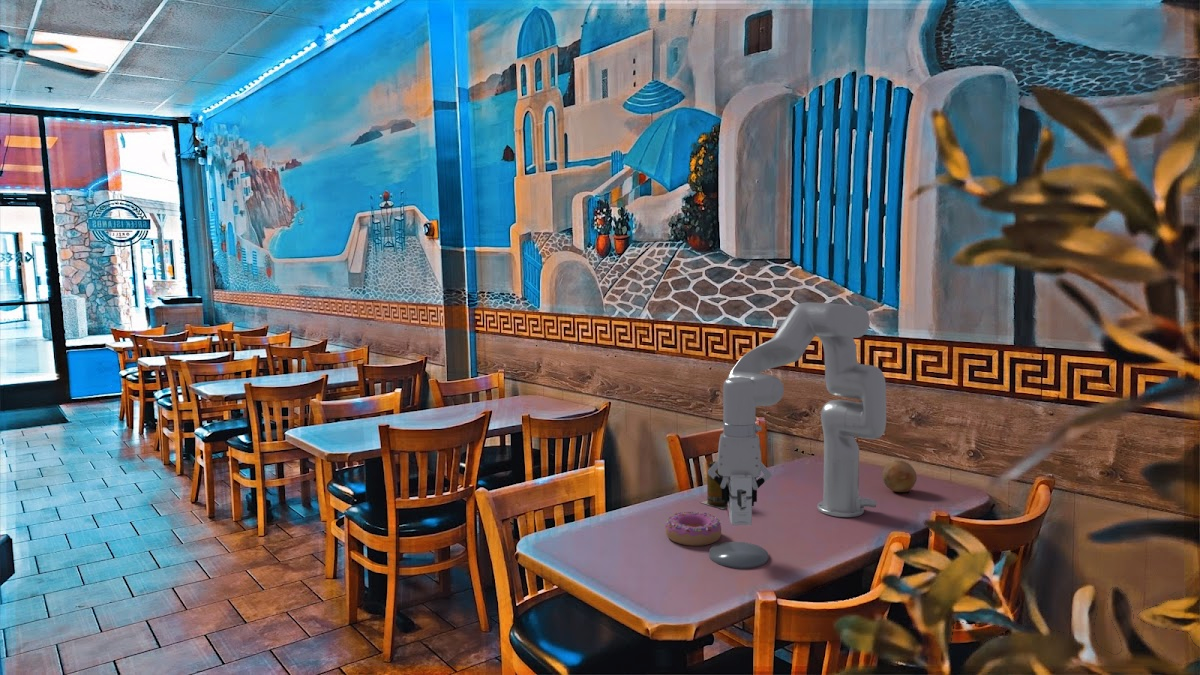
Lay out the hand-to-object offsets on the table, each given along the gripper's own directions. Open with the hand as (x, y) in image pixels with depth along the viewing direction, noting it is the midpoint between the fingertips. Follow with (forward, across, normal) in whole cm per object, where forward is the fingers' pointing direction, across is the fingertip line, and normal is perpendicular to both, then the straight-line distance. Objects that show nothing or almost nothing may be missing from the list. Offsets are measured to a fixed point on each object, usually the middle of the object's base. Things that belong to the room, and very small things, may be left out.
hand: (739, 503), depth 180 cm
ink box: (+4, 0, 0) cm, 4 cm away
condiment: (+14, +7, -39) cm, 42 cm away
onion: (+14, -46, -60) cm, 77 cm away
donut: (+14, +12, -11) cm, 21 cm away
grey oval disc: (+13, 0, 0) cm, 13 cm away
